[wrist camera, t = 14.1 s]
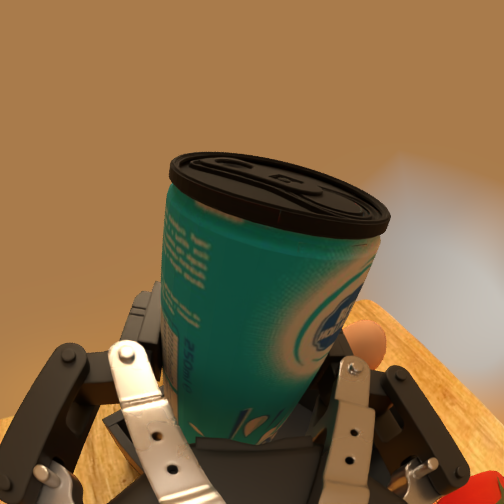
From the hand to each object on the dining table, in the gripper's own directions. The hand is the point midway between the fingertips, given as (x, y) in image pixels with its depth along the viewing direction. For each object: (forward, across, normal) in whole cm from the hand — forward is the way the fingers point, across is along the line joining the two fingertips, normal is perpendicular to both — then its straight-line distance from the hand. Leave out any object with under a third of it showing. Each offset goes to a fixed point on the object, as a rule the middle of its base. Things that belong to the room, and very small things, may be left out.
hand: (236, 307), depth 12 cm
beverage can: (-2, 0, +9) cm, 9 cm away
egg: (+12, -20, +20) cm, 31 cm away
